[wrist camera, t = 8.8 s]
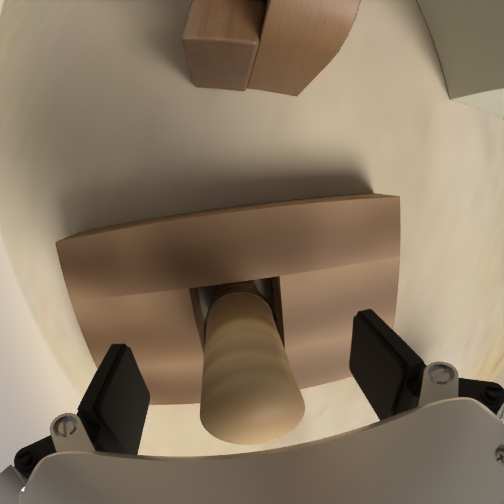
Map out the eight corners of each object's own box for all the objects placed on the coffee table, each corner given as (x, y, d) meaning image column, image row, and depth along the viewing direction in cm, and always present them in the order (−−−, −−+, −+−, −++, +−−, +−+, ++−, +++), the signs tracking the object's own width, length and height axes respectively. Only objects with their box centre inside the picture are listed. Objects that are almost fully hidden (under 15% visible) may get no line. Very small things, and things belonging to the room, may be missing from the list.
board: (78, 232, 15) (55, 242, 13) (374, 193, 17) (399, 196, 14) (125, 379, 19) (115, 403, 16) (369, 345, 20) (386, 365, 17)
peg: (204, 277, 17) (186, 385, 7) (262, 269, 17) (306, 368, 8) (213, 328, 18) (210, 449, 8) (267, 320, 18) (305, 436, 9)
